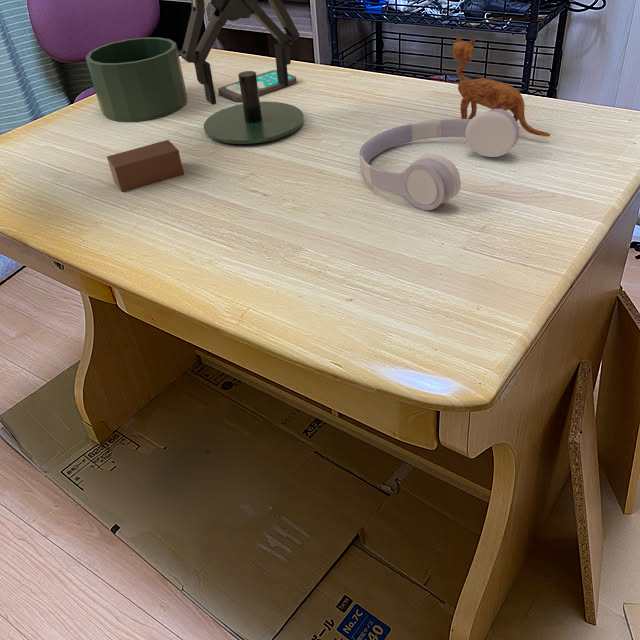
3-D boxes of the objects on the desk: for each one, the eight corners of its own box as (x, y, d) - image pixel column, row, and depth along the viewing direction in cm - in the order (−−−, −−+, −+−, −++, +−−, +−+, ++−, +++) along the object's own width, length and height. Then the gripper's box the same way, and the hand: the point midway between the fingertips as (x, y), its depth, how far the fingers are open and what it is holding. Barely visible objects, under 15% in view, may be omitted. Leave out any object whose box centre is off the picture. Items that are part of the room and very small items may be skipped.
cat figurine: (557, 135, 99) (573, 45, 90) (539, 151, 95) (554, 58, 87) (458, 114, 109) (464, 30, 100) (438, 127, 105) (442, 41, 96)
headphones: (524, 154, 94) (412, 135, 106) (527, 107, 90) (410, 93, 101) (448, 217, 82) (330, 189, 93) (447, 167, 77) (324, 143, 89)
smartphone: (214, 87, 125) (274, 68, 132) (215, 92, 126) (275, 73, 133) (238, 97, 120) (299, 77, 127) (238, 102, 121) (299, 81, 127)
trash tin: (114, 129, 115) (98, 70, 108) (94, 103, 127) (77, 49, 120) (199, 107, 121) (187, 50, 114) (171, 85, 132) (160, 32, 126)
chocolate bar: (122, 192, 95) (114, 167, 92) (113, 180, 98) (106, 156, 96) (184, 174, 98) (178, 150, 96) (173, 162, 102) (168, 139, 99)
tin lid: (227, 156, 102) (217, 100, 96) (190, 123, 114) (180, 72, 109) (322, 129, 108) (318, 75, 102) (277, 100, 120) (271, 50, 115)
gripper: (157, -33, 87) (187, 116, 100) (313, -57, 96) (321, 83, 109) (142, -39, 92) (172, 103, 106) (291, -62, 101) (301, 72, 114)
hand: (248, 93), depth 107 cm, fingers open, 13 cm apart
